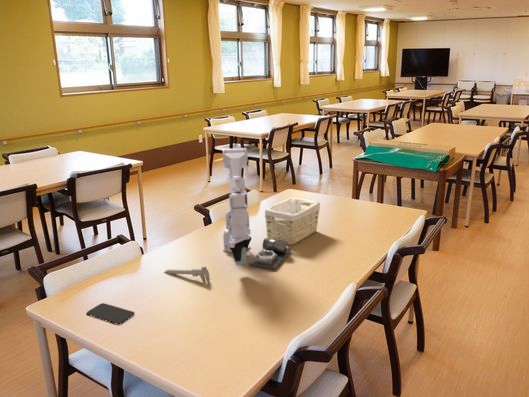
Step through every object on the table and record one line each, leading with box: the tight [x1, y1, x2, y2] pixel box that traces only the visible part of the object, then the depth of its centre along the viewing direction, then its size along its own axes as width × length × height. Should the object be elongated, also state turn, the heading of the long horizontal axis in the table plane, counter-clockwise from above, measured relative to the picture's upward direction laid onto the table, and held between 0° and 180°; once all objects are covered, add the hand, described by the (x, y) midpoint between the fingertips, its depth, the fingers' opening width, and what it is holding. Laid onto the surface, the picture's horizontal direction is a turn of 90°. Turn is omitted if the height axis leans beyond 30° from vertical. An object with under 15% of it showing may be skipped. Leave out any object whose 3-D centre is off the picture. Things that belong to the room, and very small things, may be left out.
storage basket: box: [264, 196, 321, 246], centre depth 205 cm, size 24×16×15 cm
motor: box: [248, 237, 292, 271], centre depth 181 cm, size 11×18×6 cm, turn 157°
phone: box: [86, 302, 135, 325], centre depth 145 cm, size 7×1×15 cm
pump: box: [234, 246, 252, 265], centre depth 168 cm, size 6×4×6 cm
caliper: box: [164, 266, 211, 283], centre depth 168 cm, size 20×1×6 cm, turn 63°
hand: (240, 258), depth 169 cm, fingers closed on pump, 4 cm apart
